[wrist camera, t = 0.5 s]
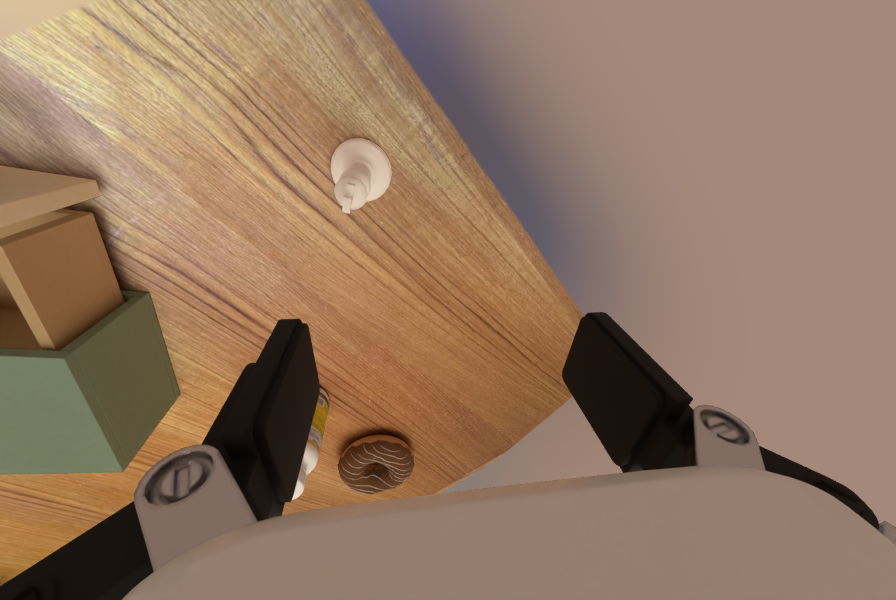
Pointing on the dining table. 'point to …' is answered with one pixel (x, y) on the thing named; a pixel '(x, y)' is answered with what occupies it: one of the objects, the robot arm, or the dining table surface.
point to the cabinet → (87, 396)
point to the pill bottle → (313, 442)
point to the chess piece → (359, 173)
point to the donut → (376, 476)
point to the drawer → (50, 261)
